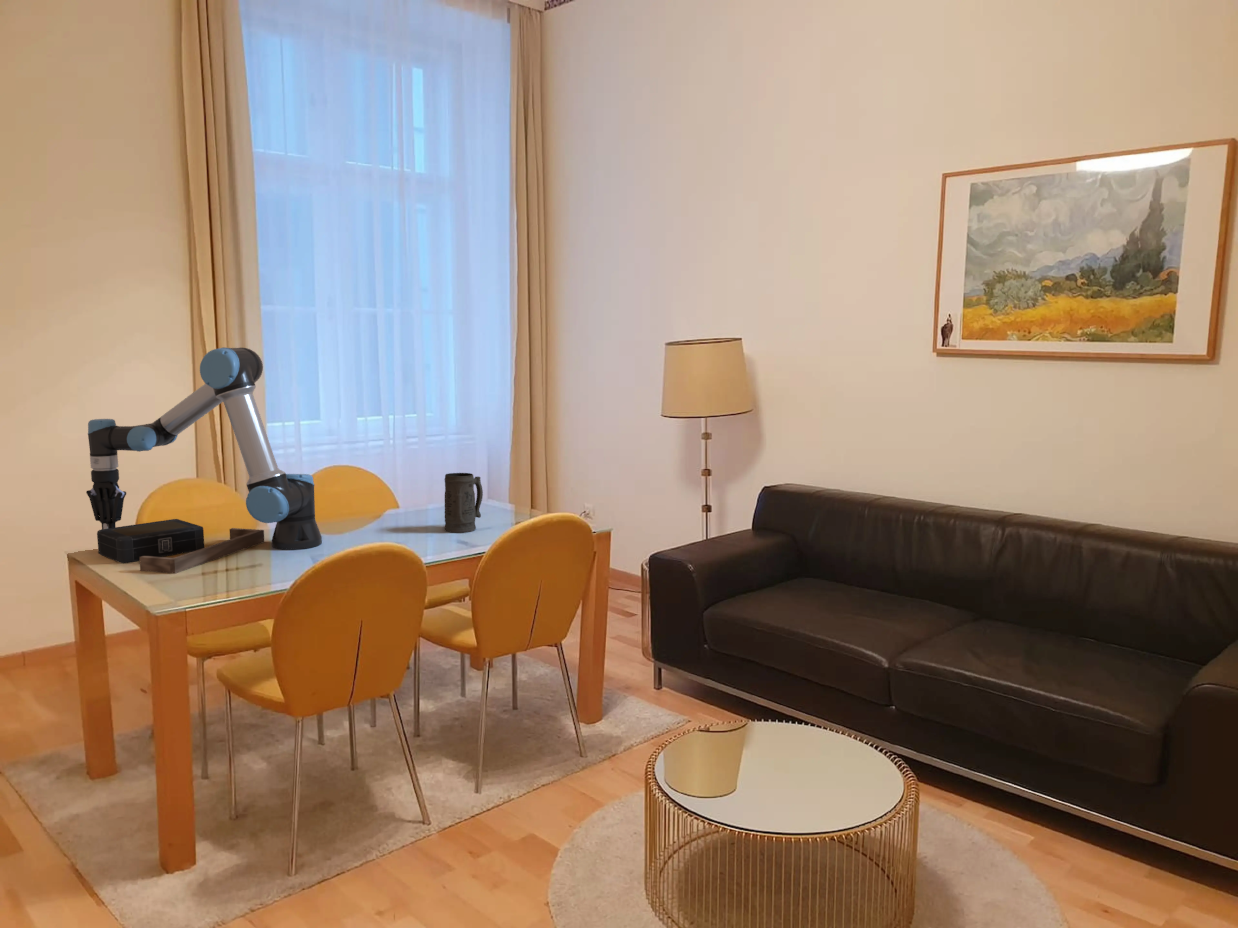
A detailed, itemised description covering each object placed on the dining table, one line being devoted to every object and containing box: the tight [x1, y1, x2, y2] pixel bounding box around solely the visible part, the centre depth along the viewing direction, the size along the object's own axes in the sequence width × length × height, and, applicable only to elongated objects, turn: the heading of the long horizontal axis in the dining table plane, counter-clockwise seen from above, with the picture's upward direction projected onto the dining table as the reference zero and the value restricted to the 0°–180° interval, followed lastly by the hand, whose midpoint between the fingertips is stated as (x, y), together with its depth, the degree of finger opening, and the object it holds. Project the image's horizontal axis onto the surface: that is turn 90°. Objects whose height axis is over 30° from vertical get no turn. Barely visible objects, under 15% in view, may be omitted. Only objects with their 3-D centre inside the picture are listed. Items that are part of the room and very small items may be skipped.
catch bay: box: [139, 527, 265, 574], centre depth 278 cm, size 12×41×4 cm, turn 166°
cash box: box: [96, 518, 206, 564], centre depth 283 cm, size 25×20×8 cm
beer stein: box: [444, 472, 484, 534], centre depth 318 cm, size 15×11×20 cm
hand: (109, 543), depth 287 cm, fingers closed
